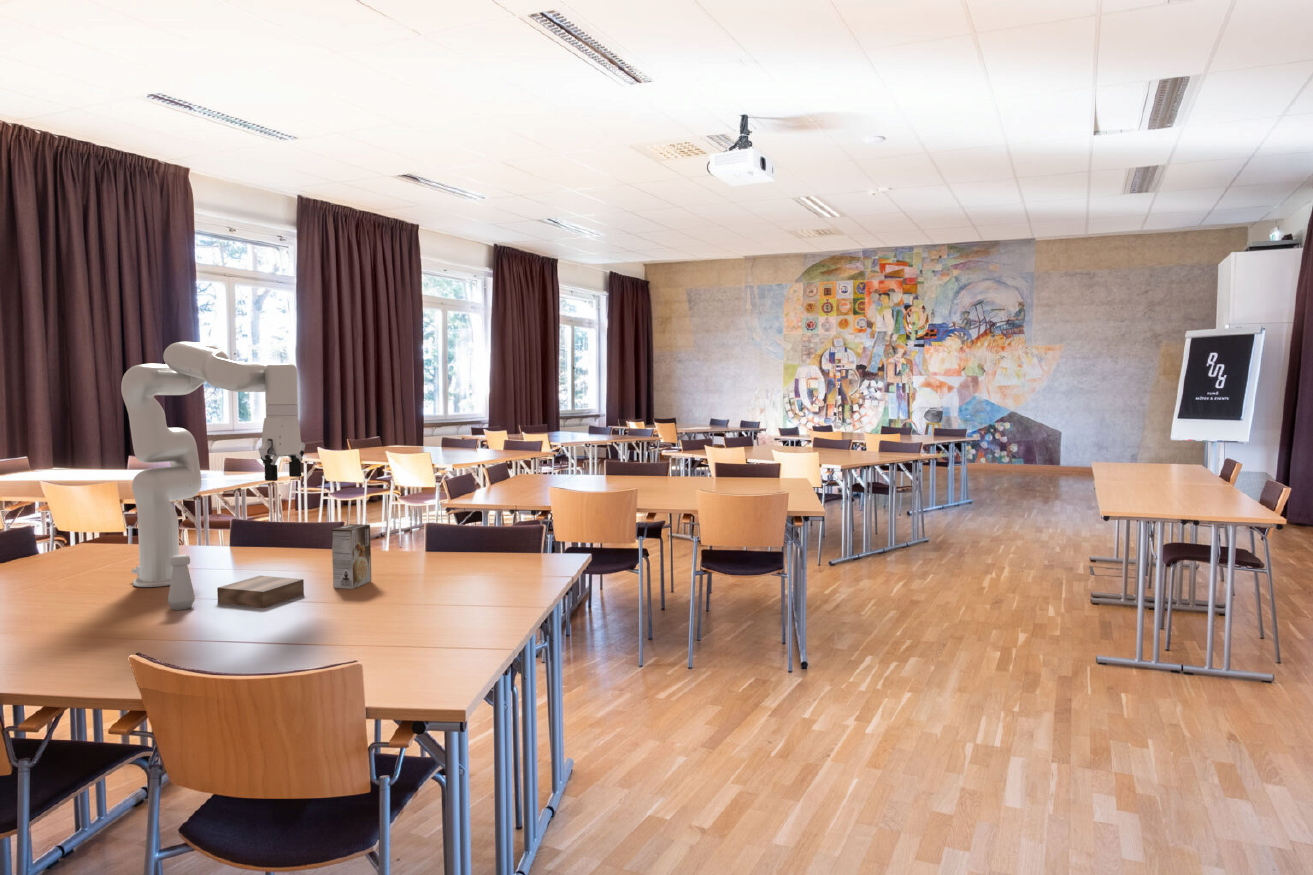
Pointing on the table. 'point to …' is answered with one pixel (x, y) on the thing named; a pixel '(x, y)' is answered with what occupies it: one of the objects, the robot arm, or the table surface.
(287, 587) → the walnut base
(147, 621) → the table surface
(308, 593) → the table surface
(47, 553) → the table surface
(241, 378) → the robot arm
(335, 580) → the coffee box
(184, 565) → the salt shaker
